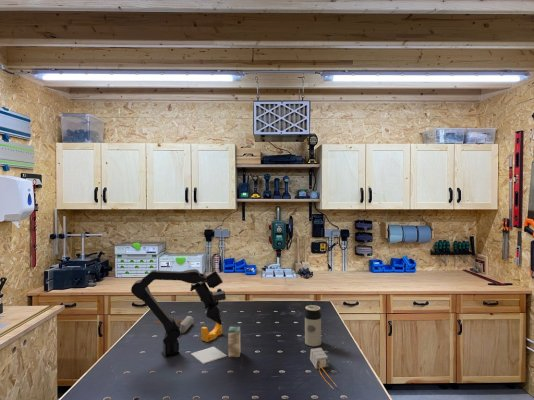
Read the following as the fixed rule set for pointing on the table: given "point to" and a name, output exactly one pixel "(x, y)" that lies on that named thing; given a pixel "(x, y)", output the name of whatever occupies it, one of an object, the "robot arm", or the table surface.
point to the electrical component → (320, 360)
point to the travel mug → (312, 325)
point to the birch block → (234, 342)
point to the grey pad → (208, 355)
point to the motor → (185, 323)
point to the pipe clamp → (211, 333)
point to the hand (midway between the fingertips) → (220, 320)
